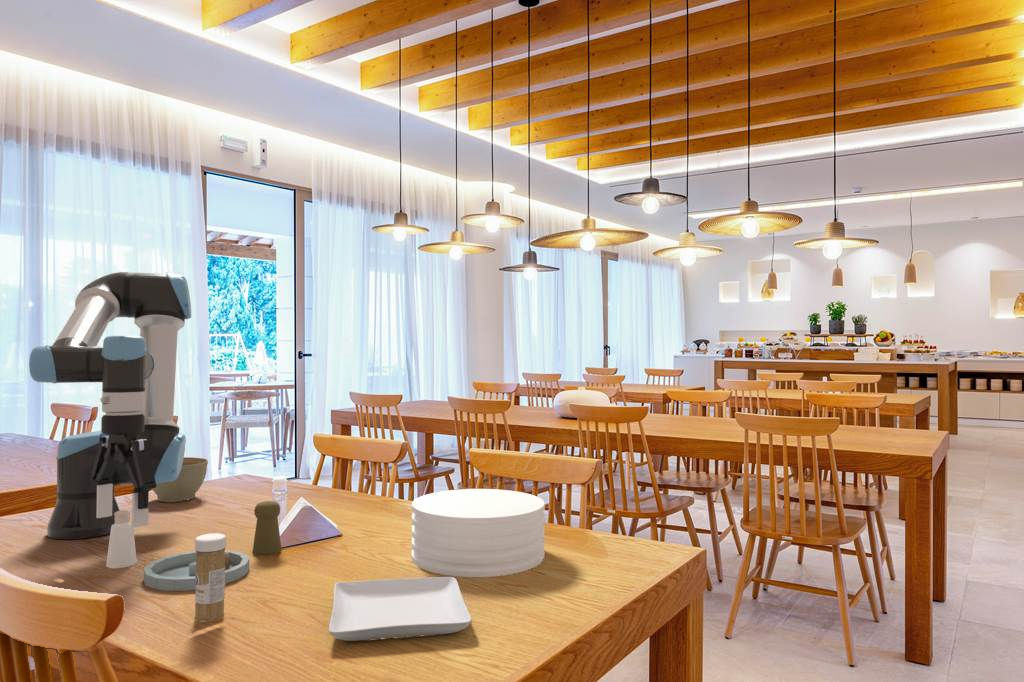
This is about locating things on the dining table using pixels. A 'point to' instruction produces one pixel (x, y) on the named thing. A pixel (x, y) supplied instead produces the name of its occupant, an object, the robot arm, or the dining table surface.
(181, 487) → the planter bowl
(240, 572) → the groove tray
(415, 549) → the plate stack
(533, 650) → the dining table surface
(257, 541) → the pepper shaker
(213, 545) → the sprinkles bottle
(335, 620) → the salad plate
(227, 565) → the bead walnut
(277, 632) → the dining table surface
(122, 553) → the pepper shaker
